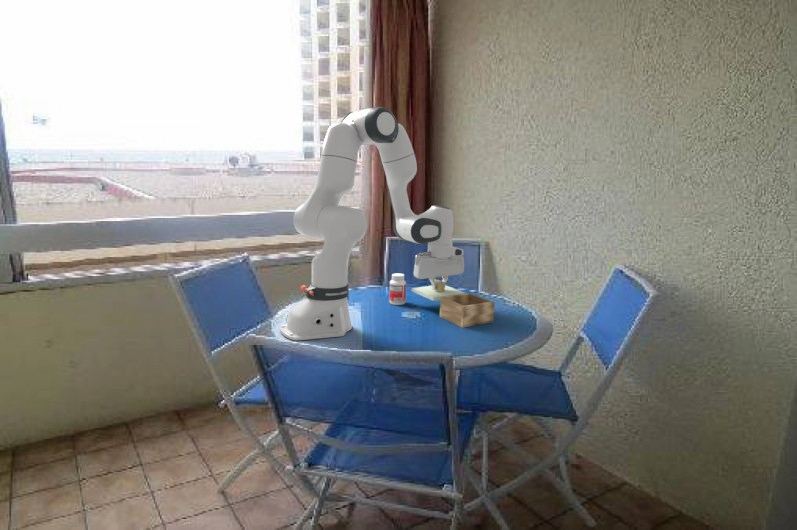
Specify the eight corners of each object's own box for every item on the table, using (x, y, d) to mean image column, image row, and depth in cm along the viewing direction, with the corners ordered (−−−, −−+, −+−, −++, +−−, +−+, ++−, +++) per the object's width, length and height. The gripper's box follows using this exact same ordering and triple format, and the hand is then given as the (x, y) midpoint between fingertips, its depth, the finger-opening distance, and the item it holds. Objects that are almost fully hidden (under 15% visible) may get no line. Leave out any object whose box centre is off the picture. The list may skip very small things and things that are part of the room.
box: (462, 327, 166) (463, 306, 165) (439, 316, 177) (440, 297, 175) (493, 322, 173) (494, 302, 171) (469, 311, 183) (470, 293, 182)
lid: (433, 300, 177) (433, 287, 176) (411, 291, 189) (411, 279, 188) (465, 296, 184) (465, 283, 183) (442, 287, 196) (442, 275, 195)
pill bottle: (398, 300, 196) (399, 272, 194) (408, 303, 192) (409, 275, 190) (385, 302, 193) (386, 274, 190) (396, 306, 188) (396, 277, 186)
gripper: (420, 254, 175) (419, 293, 178) (467, 250, 186) (465, 287, 188) (410, 251, 180) (409, 289, 183) (456, 247, 191) (455, 283, 194)
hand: (438, 288), depth 186 cm, fingers closed on lid
